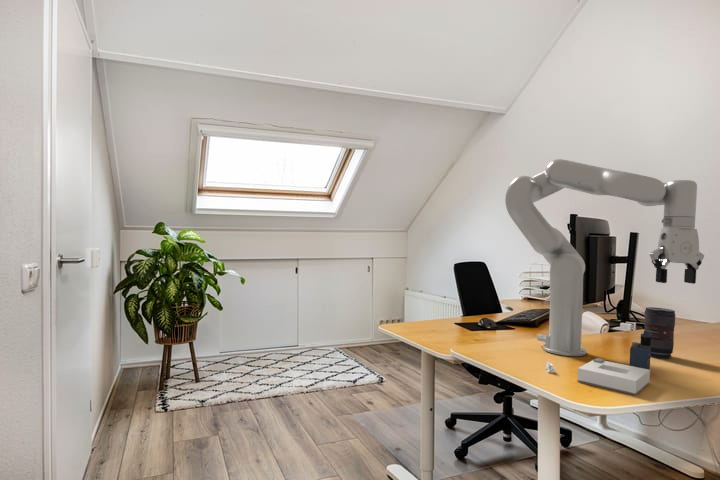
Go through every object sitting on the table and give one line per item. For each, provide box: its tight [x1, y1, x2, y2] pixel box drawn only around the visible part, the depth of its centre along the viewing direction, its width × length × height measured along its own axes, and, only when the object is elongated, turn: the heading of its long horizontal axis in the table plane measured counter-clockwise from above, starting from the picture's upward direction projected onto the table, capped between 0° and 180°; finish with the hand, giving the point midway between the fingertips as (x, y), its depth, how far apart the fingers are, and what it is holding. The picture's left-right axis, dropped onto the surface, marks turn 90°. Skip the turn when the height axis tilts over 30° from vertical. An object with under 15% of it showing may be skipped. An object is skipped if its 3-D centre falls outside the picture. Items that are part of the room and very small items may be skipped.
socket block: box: [577, 357, 651, 396], centre depth 116 cm, size 13×13×4 cm
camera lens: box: [643, 306, 676, 360], centre depth 143 cm, size 8×8×15 cm
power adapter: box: [545, 361, 556, 374], centre depth 124 cm, size 3×3×3 cm
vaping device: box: [628, 330, 652, 371], centre depth 124 cm, size 3×5×12 cm, turn 23°
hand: (675, 282), depth 131 cm, fingers open, 9 cm apart
